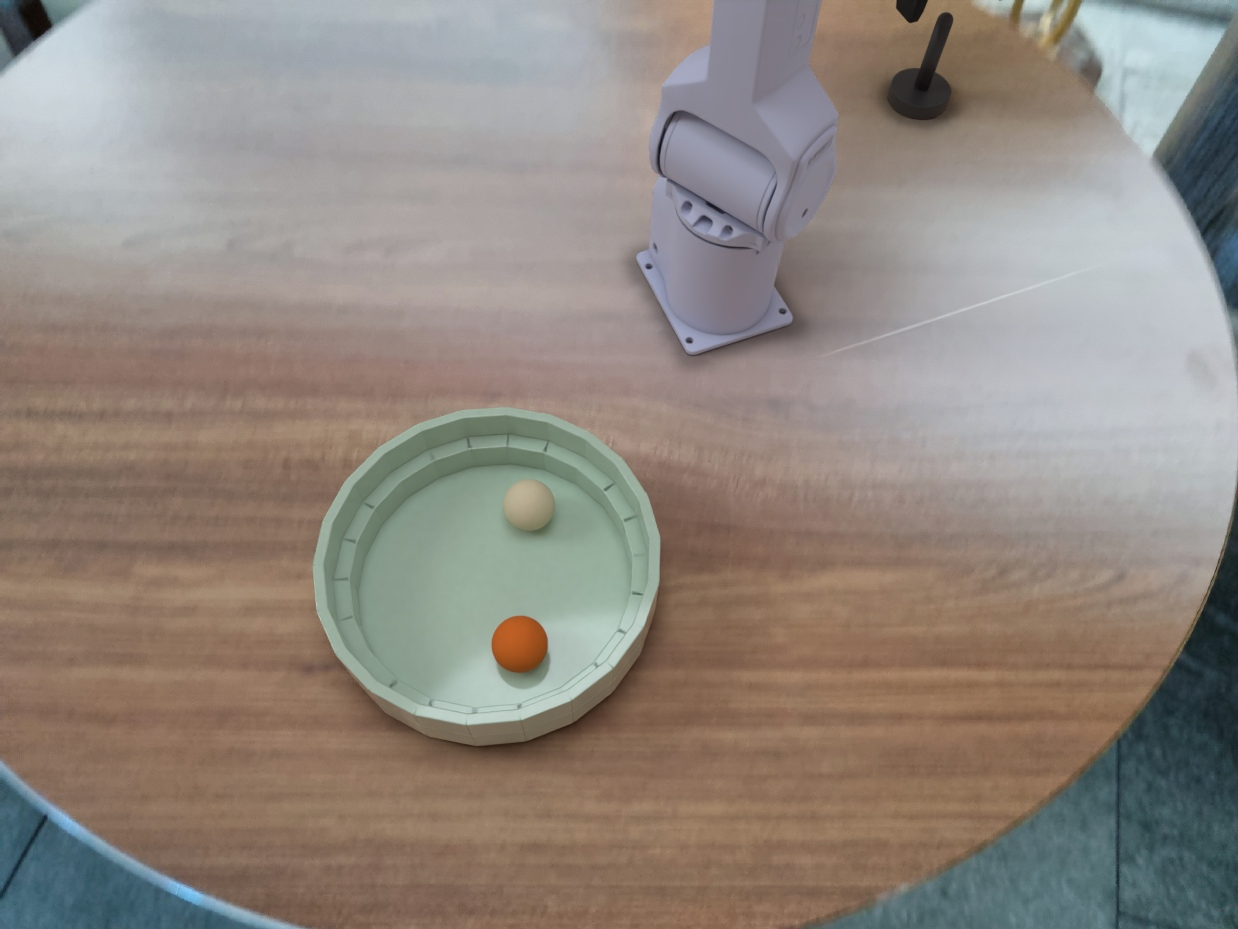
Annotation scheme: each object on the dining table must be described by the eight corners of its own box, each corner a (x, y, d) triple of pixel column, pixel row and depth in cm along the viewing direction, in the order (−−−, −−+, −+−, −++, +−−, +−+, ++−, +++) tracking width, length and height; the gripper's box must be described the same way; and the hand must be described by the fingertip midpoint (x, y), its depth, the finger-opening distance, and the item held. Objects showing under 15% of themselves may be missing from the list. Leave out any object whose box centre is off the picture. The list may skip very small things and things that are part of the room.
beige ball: (498, 503, 55) (493, 479, 52) (545, 487, 56) (543, 462, 53) (514, 546, 54) (510, 523, 51) (563, 529, 54) (561, 506, 52)
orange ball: (487, 638, 51) (481, 619, 48) (538, 619, 51) (535, 599, 49) (504, 688, 50) (499, 671, 47) (556, 668, 50) (554, 650, 48)
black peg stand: (876, 87, 76) (903, 1, 69) (926, 74, 77) (957, -12, 70) (906, 125, 74) (937, 39, 67) (958, 111, 75) (993, 25, 68)
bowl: (304, 507, 56) (279, 466, 51) (589, 415, 59) (588, 369, 55) (381, 803, 47) (360, 783, 43) (707, 673, 51) (718, 643, 47)
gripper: (1084, -255, 59) (1004, -48, 71) (888, -217, 56) (838, -8, 68) (1154, -202, 56) (1058, 5, 68) (950, -159, 53) (886, 50, 65)
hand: (951, 3), depth 68 cm, fingers open, 7 cm apart
